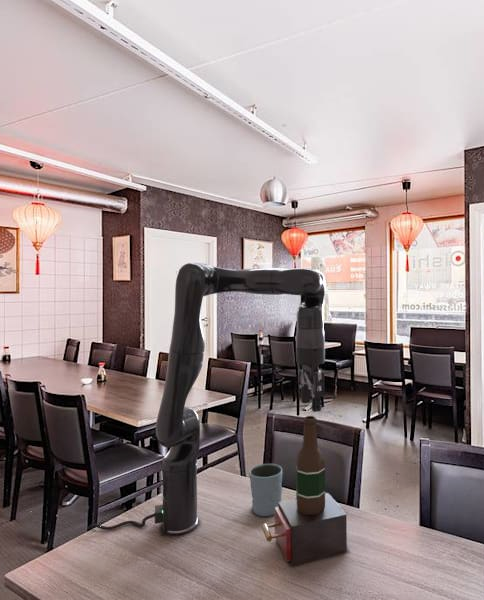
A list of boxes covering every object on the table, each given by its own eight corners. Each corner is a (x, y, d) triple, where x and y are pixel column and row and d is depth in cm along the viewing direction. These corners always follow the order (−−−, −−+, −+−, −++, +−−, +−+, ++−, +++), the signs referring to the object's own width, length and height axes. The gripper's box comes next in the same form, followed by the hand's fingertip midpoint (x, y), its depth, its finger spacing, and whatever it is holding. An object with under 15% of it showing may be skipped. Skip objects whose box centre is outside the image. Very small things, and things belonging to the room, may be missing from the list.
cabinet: (292, 565, 100) (291, 526, 100) (278, 537, 112) (278, 502, 112) (346, 551, 105) (346, 514, 105) (328, 525, 117) (328, 492, 117)
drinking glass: (280, 517, 122) (280, 477, 121) (246, 517, 122) (246, 477, 122) (284, 500, 132) (284, 463, 132) (252, 500, 132) (252, 463, 132)
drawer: (269, 565, 99) (269, 533, 99) (259, 539, 110) (259, 510, 109) (337, 548, 105) (337, 518, 105) (321, 525, 116) (321, 498, 116)
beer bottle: (322, 517, 104) (321, 422, 104) (292, 514, 106) (291, 421, 105) (328, 501, 112) (327, 413, 111) (300, 499, 113) (299, 412, 113)
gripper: (288, 342, 113) (289, 401, 113) (305, 349, 100) (306, 416, 100) (314, 341, 116) (315, 399, 116) (334, 347, 102) (334, 412, 103)
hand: (310, 406), depth 108 cm, fingers open, 8 cm apart
